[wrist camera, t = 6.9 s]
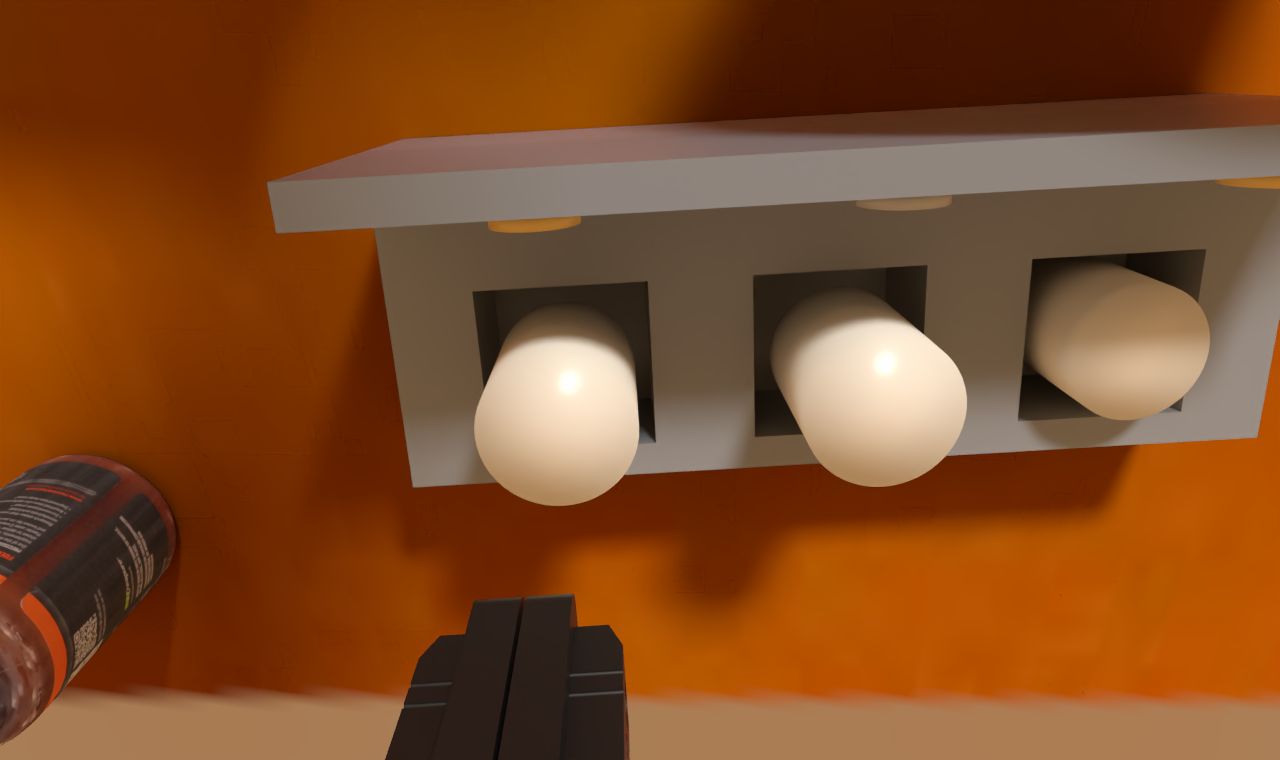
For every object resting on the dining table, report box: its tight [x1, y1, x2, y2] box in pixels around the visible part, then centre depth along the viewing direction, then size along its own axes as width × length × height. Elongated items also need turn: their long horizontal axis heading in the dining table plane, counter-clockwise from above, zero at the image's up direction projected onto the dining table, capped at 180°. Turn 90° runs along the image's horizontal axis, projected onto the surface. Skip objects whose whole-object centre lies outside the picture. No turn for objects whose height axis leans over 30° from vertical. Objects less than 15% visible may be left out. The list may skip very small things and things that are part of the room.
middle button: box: [770, 286, 967, 487], centre depth 24 cm, size 4×4×5 cm
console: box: [267, 93, 1280, 487], centre depth 25 cm, size 10×26×12 cm, turn 93°
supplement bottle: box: [0, 454, 176, 745], centre depth 28 cm, size 6×6×11 cm
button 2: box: [1023, 256, 1210, 420], centre depth 27 cm, size 4×4×5 cm
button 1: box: [474, 302, 639, 506], centre depth 24 cm, size 4×4×5 cm
